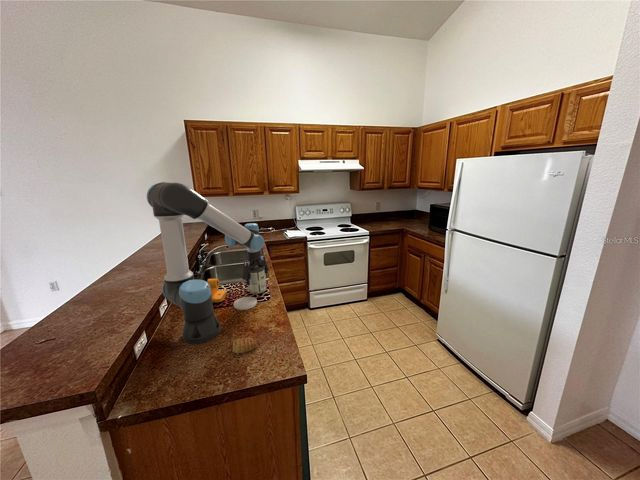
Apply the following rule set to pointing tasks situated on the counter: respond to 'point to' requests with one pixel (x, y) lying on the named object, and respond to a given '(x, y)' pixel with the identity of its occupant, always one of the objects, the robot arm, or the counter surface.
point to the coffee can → (258, 279)
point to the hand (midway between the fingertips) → (257, 286)
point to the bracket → (216, 290)
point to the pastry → (243, 345)
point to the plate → (245, 303)
